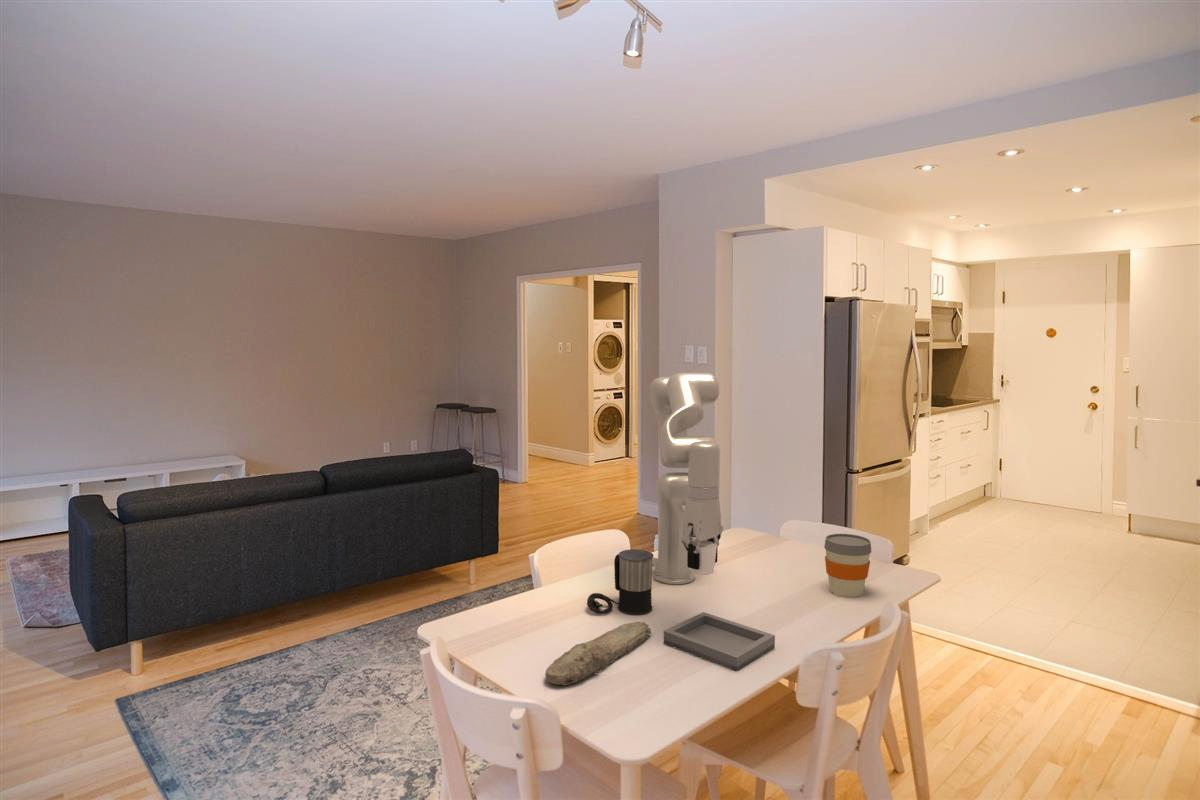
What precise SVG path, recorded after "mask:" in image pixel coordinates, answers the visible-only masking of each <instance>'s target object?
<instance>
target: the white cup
mask: <svg viewBox="0 0 1200 800" xmlns="http://www.w3.org/2000/svg"><path fill="white" fill-rule="evenodd" d="M692 544H693V546H694V547H695V542H693V543H692ZM717 547H718V546H717V544H716V543H715V542H712V541H707V540H705V541H702V542H700V546H699V550H698V553H700V564H699V569H698V570H696V569H692V568H690V570H691V572H692V573H694V574H695V575H698V576H699V575H700V576H710V575H712V574H714V573H715V566H716V565H715V564H716V563H715V558H716V549H717Z"/></svg>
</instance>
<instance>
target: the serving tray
mask: <svg viewBox="0 0 1200 800" xmlns="http://www.w3.org/2000/svg"><path fill="white" fill-rule="evenodd" d="M663 644H664V645H666V644H667V646H669V647H672V648H674V647H675V648H674V649H677V650H679V651H682V650H683V651H682V652H685V653H688V654H691V655H693V656H695V657H698V658H701V659H704V660H706V661H709V662H712V663H715V664H716V665H719V666H721V667H725V668H726V669H727V668H728V669H730V670H733V671H736V672H739V671H740V670H741V669H743V668H744V667H746V666H748V665H749V664H751V663H753V662H754V661H756V660H758V659H759V658H761V657H762V656H764V655H766V654H767V653H769V652H770V651H772V650H774V649H775V647H776V645H775V644H776V635H775V634H772V633H769V632H767V631H762V630H761V629H757V628H753V627H751V626H747V625H745V624H741V623H738V622H735V621H732V620H730V619H727V618H723V617H720V616H717V615H713V614H711V613H708V612H705V611H703V612H701V613H698V614H697V615H694V616H692V617H690V618H688V619H686V620H684V621H681V622H680V623H677V624H676V625H673V626H672V627H669V628H667V629H665V630H663Z"/></svg>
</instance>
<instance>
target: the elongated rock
mask: <svg viewBox="0 0 1200 800" xmlns="http://www.w3.org/2000/svg"><path fill="white" fill-rule="evenodd" d="M650 634H652V628H651V627H649V624H648V623H646V622H645V621H635V622H628V623H623V624H621V625H619V626H618V627H616V628H613V629H611V630H609V631H607V632H605V633H603V634H601V635H600V636H598V637H595V638H593V639H592V640H588V641H586V642H582V643H577V644H575V645H574V646H572V647H571V648H570V650H568V651H565V652H563V654H562V655H561V656H559V657H558V658H556V659H555V660H553V662H552V663H551V664H550V665H549V666H548V667H547V668H546V670H545V675H544V676H545V681H546V682H547V683H549V684H551V685H557V686H561V685H562V686H567V685H571V684H573V683H575V684H576V683H577V682H580V681H584V680H585V679H587V678H590V677H591V676H592V675H596V674H595V673H598V674H599V672H600V671H599V670H601V671H603V669H604V668H605V667H607V666H609V665H610V664H611V663H613V662H614V661H615V660H616V659H617V658H618V657H620V656H622V655H623V654H624V655H626V654H627V652H628V651H631V650H633V648H635V647H638V646H639V645H641V644H642V643H643V642H645V641H646V639H647V640H648V637H649V635H650ZM640 643H641V644H640ZM598 671H599V672H598Z"/></svg>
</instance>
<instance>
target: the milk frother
mask: <svg viewBox="0 0 1200 800" xmlns="http://www.w3.org/2000/svg"><path fill="white" fill-rule="evenodd" d="M653 557H654V553H652V552H650V551H648V550H645V549H637V548H634V549H633V548H630V549H625V550H620V552H619V553H617V554H616V555H615V558H614V561H613V562H614V569H613V570H614V589H615V590H616V591H618V602H616V601H615V600H614V599H612V598H611V597H609V596H607V595H605V594H603V593H599V592H593V593H591V594H589V595H588V598H587V600H586V606H587V607H588V609H589V610H590V611H591V612H593V613H595V614H600V615H605V614H609V613H611V612H612V610H613V608H614V605H613V604H616V605H617V609H618V610H619V611H620V612H621V613H624V614H628V615H635V616H638V615H639V616H640V615H646V614H648V613H650V612H652V610H653V605H652V600H653V599H652V589H653V588H652V585H653V566H652V558H653ZM597 599H598V600H602V601H603V602H605V603H607V608H604V609H603V604H602V603H600V602H599V601H598V600H597Z"/></svg>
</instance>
